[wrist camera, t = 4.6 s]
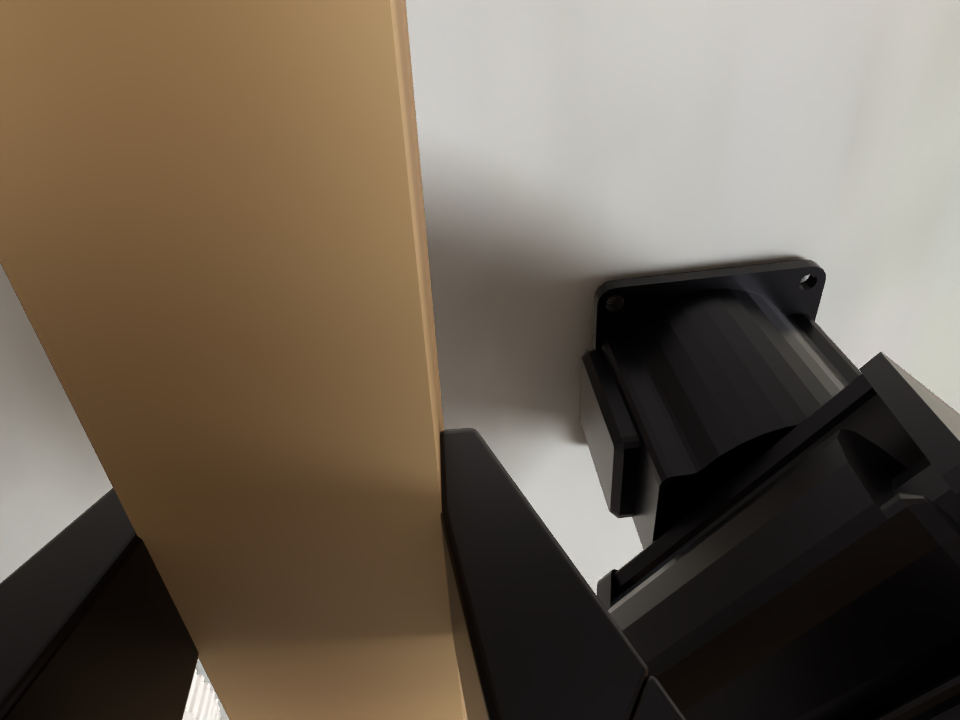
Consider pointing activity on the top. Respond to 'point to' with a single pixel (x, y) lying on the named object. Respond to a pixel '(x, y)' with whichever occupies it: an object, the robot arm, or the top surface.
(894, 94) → the top surface
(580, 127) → the top surface
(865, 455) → the robot arm
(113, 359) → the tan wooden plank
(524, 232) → the top surface
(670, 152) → the top surface
